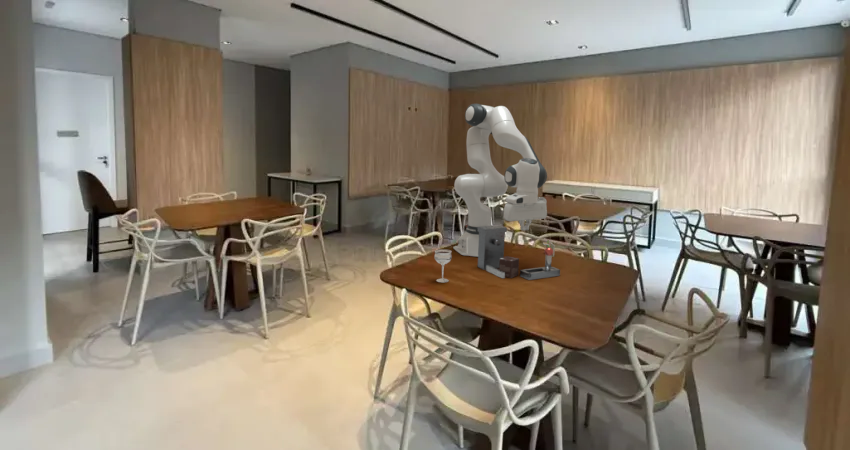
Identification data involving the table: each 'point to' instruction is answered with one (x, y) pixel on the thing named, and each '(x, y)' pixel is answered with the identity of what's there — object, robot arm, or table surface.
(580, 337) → the table surface
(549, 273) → the lever rail
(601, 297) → the table surface
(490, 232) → the grey coffee machine
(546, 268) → the lever
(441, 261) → the wineglass
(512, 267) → the box
